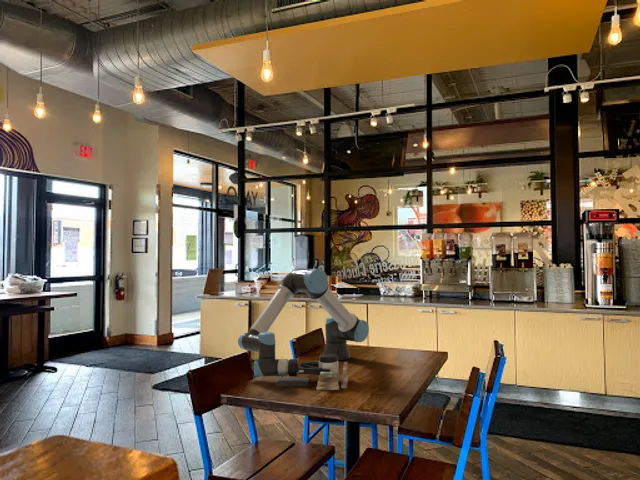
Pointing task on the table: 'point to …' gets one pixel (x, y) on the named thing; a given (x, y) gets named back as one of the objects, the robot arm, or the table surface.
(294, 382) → the mat
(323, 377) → the offcuts
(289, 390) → the table surface
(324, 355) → the jar
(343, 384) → the rack
